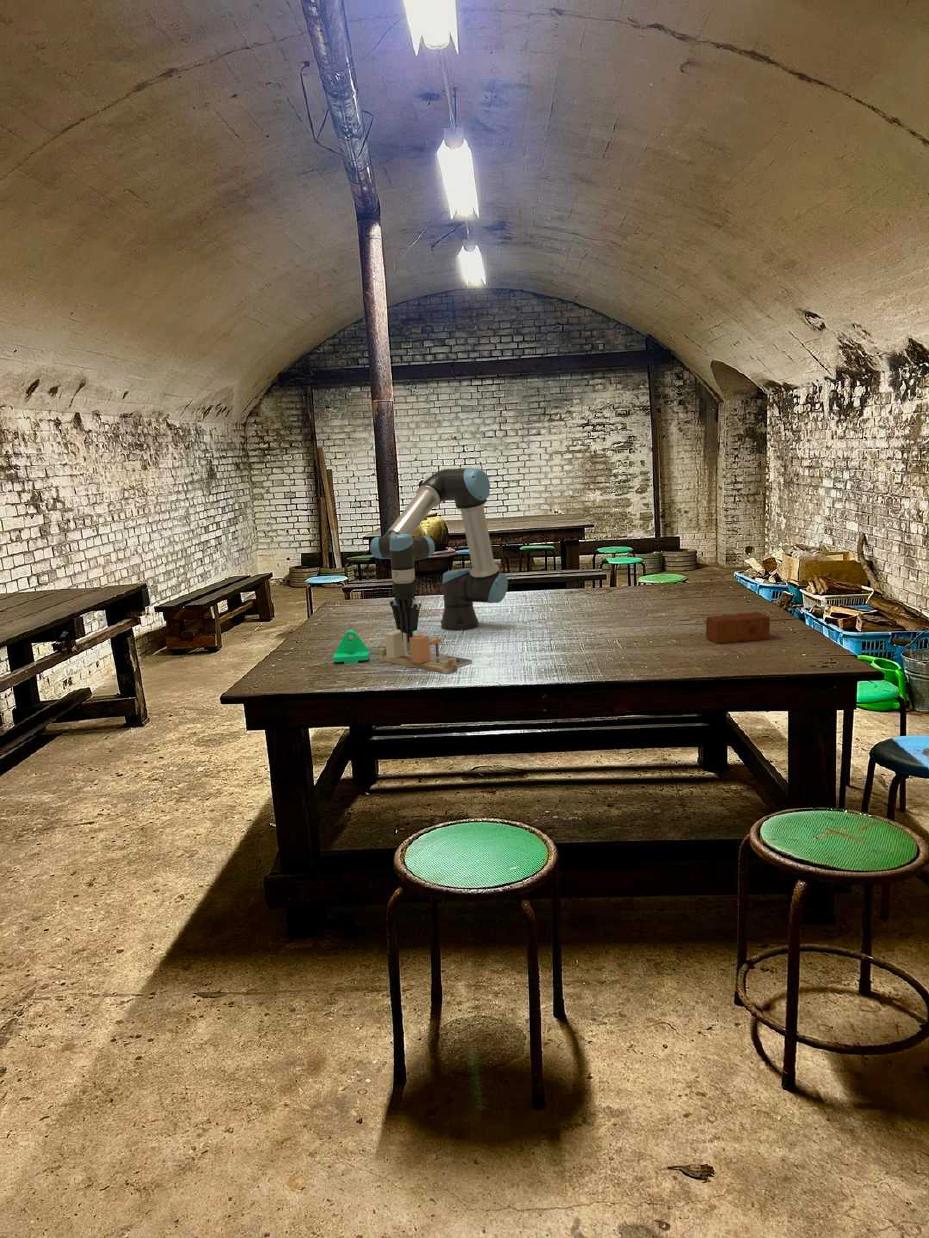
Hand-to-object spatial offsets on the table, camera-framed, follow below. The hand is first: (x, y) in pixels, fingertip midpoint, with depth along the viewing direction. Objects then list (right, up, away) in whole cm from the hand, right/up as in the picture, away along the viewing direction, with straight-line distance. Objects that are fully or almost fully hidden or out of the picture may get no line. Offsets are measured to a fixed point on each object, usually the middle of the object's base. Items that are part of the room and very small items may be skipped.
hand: (408, 651), depth 258 cm
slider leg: (+7, -3, -1) cm, 7 cm away
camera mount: (-20, -4, +9) cm, 23 cm away
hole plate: (+8, -3, +4) cm, 10 cm away
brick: (+114, +3, +11) cm, 115 cm away
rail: (+3, -5, -1) cm, 6 cm away
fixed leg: (-2, -2, +7) cm, 8 cm away
